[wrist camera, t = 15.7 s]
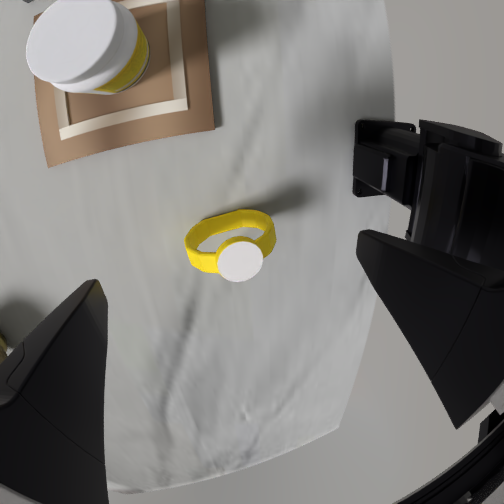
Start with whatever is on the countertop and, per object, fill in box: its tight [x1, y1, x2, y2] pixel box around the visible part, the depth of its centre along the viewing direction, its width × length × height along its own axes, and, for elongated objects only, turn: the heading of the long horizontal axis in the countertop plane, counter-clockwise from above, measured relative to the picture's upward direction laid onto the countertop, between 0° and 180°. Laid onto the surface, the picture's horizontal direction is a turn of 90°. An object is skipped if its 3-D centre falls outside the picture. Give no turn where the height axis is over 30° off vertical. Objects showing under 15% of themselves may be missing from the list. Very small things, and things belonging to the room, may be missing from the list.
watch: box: [184, 209, 276, 282], centre depth 19 cm, size 6×3×6 cm, turn 101°
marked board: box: [34, 0, 215, 168], centre depth 13 cm, size 12×12×1 cm
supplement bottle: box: [26, 0, 150, 95], centre depth 10 cm, size 5×5×8 cm
